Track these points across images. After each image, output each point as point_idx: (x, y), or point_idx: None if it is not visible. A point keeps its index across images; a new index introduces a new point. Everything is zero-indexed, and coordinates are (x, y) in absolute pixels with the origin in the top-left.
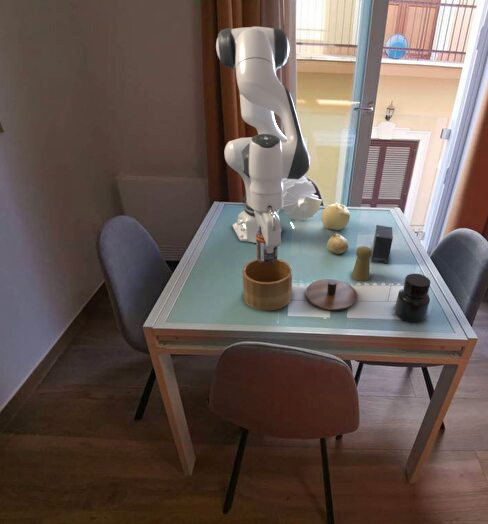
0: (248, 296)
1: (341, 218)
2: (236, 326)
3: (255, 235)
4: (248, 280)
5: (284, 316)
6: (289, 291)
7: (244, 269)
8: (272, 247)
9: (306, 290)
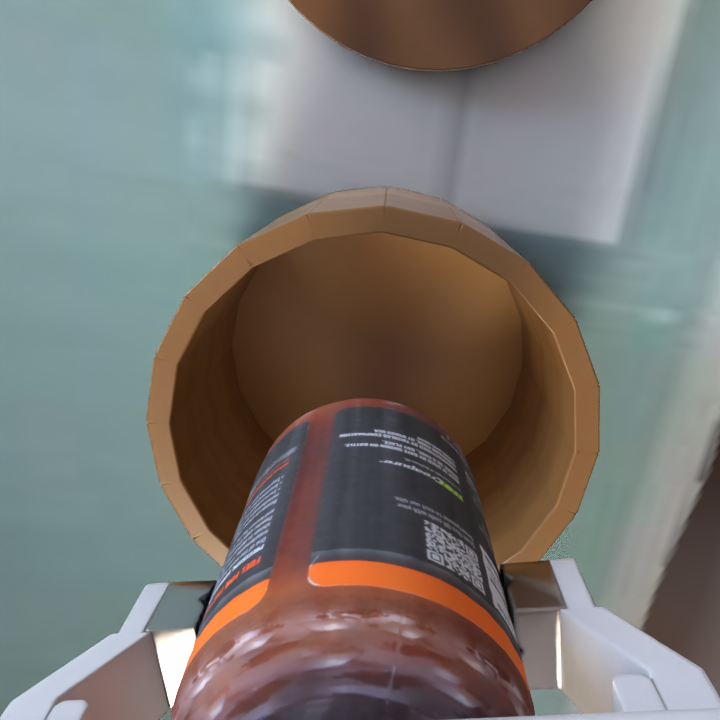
0: None
1: None
2: (639, 541)
3: None
4: None
5: (616, 267)
6: (480, 225)
7: None
8: (603, 619)
9: (380, 59)
